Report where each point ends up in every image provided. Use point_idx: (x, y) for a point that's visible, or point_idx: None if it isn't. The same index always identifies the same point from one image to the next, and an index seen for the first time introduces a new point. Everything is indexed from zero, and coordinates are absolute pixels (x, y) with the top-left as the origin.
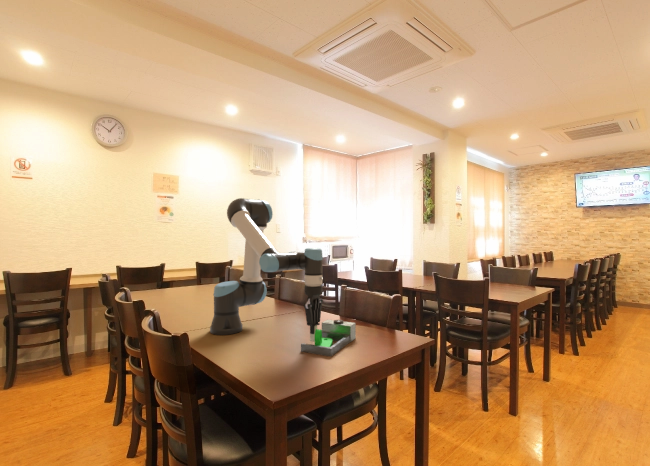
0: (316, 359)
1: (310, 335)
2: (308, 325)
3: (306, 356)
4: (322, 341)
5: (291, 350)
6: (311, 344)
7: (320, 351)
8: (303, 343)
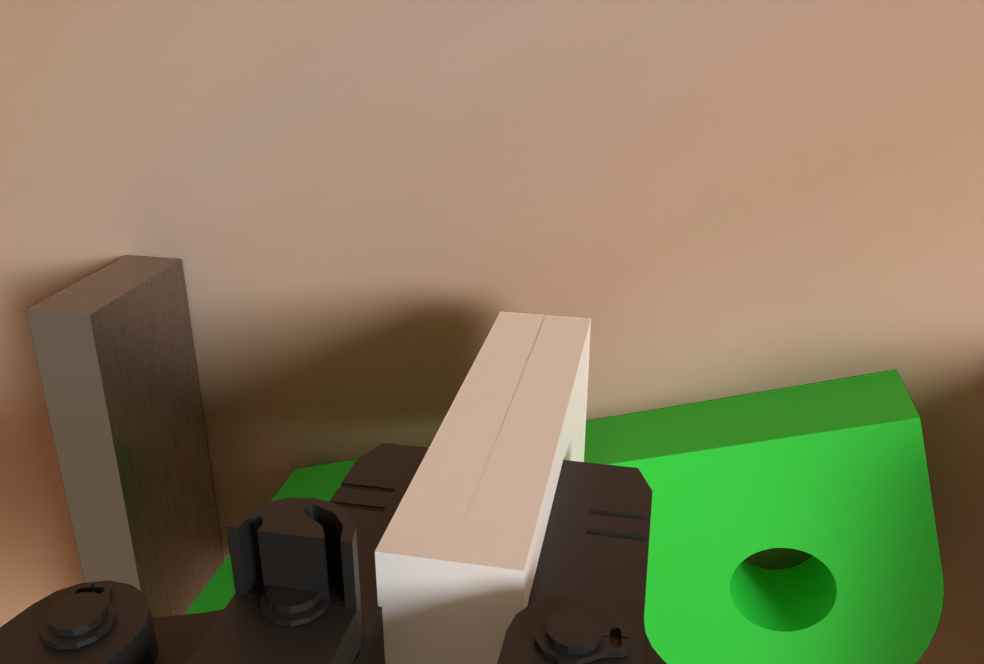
0: (6, 605)
1: (468, 387)
2: (275, 535)
3: (5, 440)
4: None
5: (63, 42)
6: (126, 524)
7: None
8: (81, 349)
